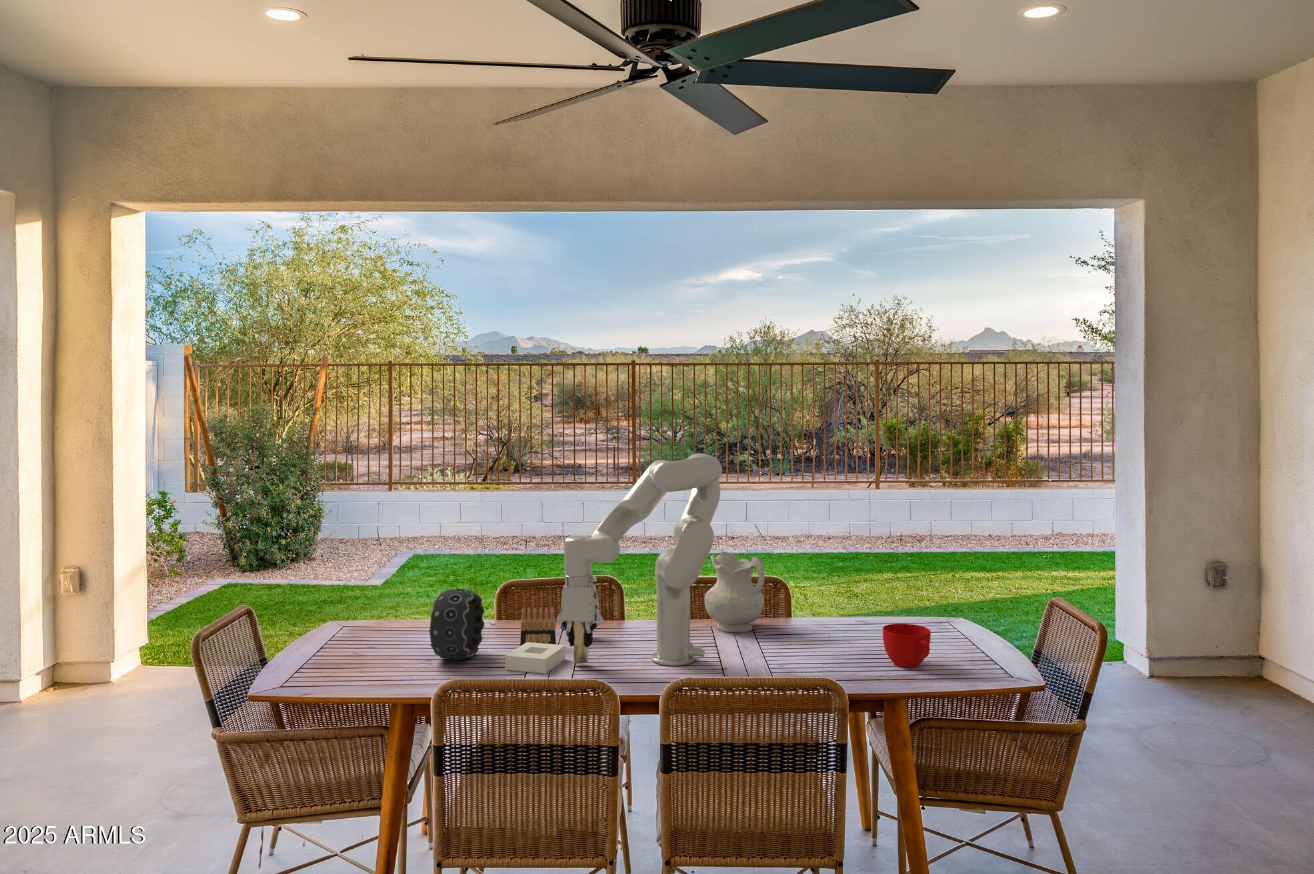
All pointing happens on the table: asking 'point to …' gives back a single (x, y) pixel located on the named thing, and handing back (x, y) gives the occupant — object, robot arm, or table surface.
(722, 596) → the ceramic pitcher
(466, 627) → the dark grey toy tire
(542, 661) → the white square socket block
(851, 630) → the table surface
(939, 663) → the table surface
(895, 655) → the ceramic cup
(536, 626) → the ammunition clip
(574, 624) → the gold cylindrical peg
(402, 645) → the table surface
